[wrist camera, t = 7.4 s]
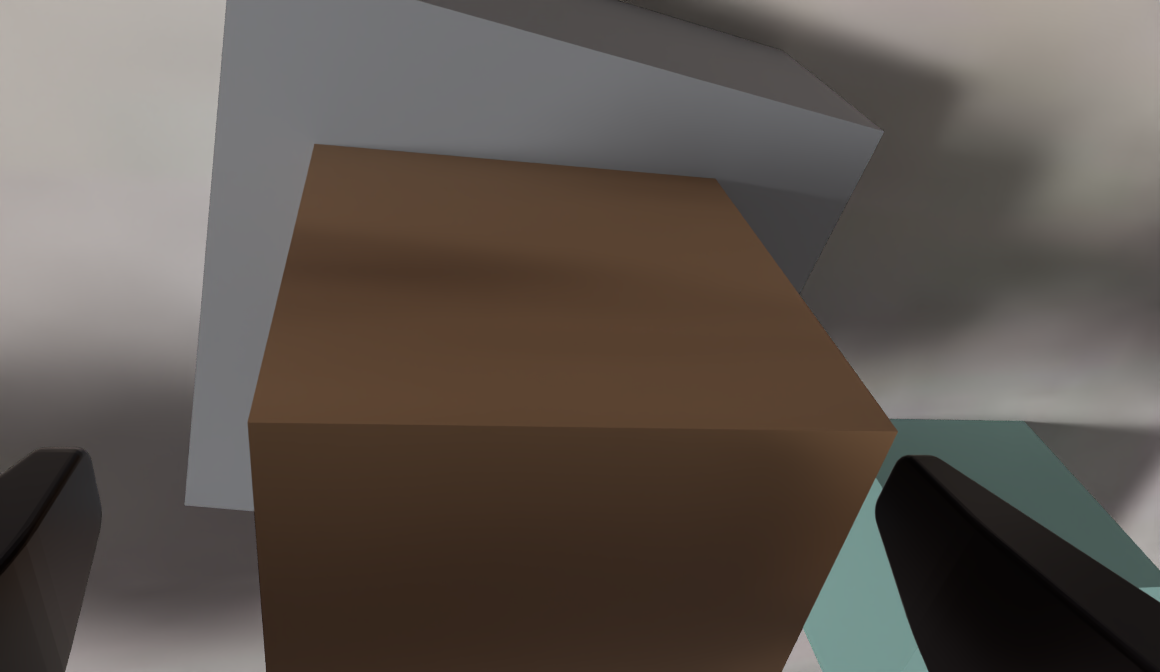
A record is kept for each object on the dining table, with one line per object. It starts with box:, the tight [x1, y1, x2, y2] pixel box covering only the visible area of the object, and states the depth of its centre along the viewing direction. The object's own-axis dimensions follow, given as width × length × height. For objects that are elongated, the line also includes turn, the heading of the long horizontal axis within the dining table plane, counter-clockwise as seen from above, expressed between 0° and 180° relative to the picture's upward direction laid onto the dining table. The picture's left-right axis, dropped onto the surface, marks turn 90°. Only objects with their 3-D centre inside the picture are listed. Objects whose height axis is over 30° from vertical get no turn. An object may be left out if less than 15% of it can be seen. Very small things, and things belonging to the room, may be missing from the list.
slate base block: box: [184, 0, 884, 511], centre depth 13 cm, size 8×8×4 cm
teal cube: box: [803, 419, 1160, 672], centre depth 19 cm, size 5×5×5 cm
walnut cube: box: [248, 144, 898, 672], centre depth 10 cm, size 5×5×5 cm
